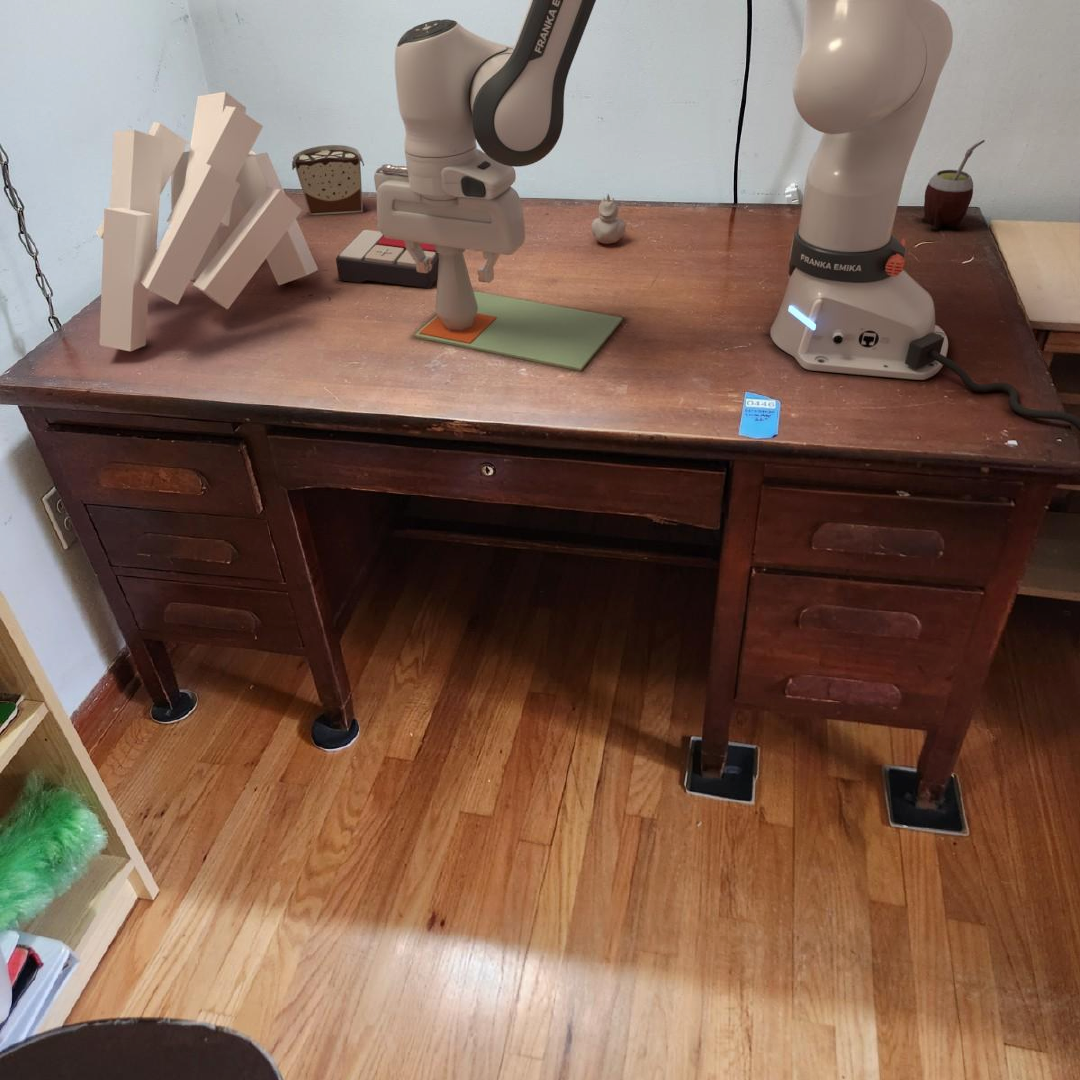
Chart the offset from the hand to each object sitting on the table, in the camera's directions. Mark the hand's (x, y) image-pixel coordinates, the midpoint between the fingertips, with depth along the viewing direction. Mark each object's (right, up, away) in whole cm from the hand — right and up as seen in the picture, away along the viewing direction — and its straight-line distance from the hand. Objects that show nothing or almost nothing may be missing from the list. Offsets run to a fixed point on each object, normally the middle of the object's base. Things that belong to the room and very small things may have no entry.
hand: (455, 276), depth 123 cm
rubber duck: (+23, +13, +27) cm, 38 cm away
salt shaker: (0, -5, +6) cm, 8 cm away
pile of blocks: (-37, 0, +15) cm, 40 cm away
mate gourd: (+77, +16, +27) cm, 83 cm away
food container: (-25, +24, +42) cm, 55 cm away
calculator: (-11, +7, +21) cm, 25 cm away
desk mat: (+8, -6, +5) cm, 11 cm away
